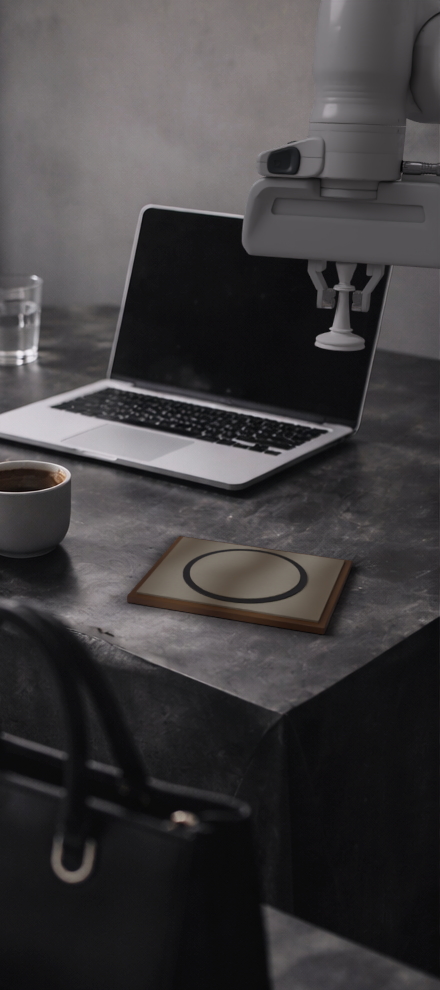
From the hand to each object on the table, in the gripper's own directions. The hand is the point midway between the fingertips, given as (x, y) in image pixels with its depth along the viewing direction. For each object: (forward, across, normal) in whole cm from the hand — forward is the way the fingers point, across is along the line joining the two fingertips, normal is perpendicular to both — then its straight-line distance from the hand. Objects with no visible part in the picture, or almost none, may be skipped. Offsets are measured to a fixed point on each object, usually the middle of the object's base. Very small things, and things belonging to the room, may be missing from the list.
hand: (342, 309), depth 95 cm
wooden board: (+20, +2, +23) cm, 30 cm away
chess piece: (+4, 0, 0) cm, 4 cm away
